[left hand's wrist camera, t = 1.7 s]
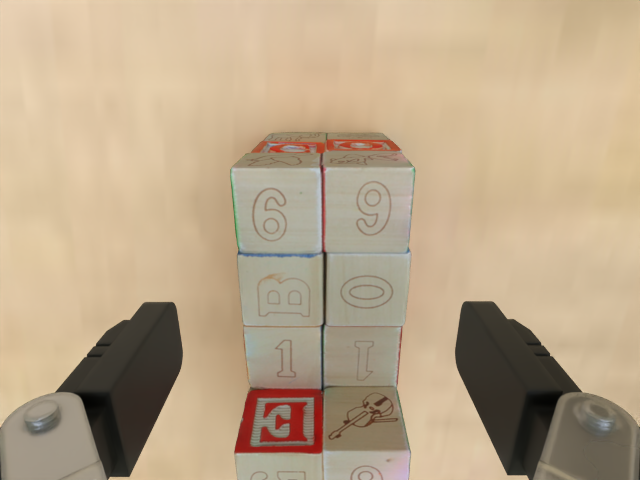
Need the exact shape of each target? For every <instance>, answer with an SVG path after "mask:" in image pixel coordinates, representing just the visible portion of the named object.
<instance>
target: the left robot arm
mask: <svg viewBox="0 0 640 480" xmlns="http://www.w3.org/2000/svg"><path fill="white" fill-rule="evenodd" d="M182 358H183V350H182V342H181V336H180V329H179V322H178V315H177V309H176V306H175V304H174V303H173V302H145V303H143V304H142V305H141V307H140V308H139V309H138V311H137V312H136V313H135V314H134V316H133V317H132V318H131V319H130V320H123V321H122V322H120V323H119V324H117V325H115V326H114V327H112V328H111V329H109V330H108V331H107V332H106V333H105V334H104V335H103V336H102V337H101V339H100V340H99V341H98V342H97V343H96V346H94V347H93V348H92V349H91V351H90V352H89V353H88V354H87V357H85V358H84V359H83V360H82V361H81V362H80V364H79V365H78V366H77V367H76V368H75V370H74V371H73V372H72V373H71V374H70V375H69V377H68V378H67V379H66V380H65V381H64V383H63V384H62V385H61V386H60V387H59V388H58V390H57V391H56V392H55V393H51V394H47V395H44V396H41V397H38V398H36V399H33V400H31V401H29V402H27V403H25V404H24V405H22V406H21V407H19V408H18V409H16V410H15V411H14V412H13V413H12V414H10V415H9V416H8V418H7V419H6V420H5V421H4V423H3V424H2V426H1V427H0V480H108V479H109V477H130V475H131V472H132V470H133V468H134V466H135V464H136V462H137V460H138V458H139V456H140V454H141V452H142V449H143V447H144V445H145V443H146V441H147V439H148V437H149V435H150V433H151V431H152V429H153V426H154V424H155V422H156V420H157V418H158V416H159V414H160V412H161V410H162V408H163V406H164V403H165V401H166V399H167V397H168V395H169V393H170V391H171V389H172V387H173V385H174V383H175V380H176V378H177V376H178V374H179V372H180V369H181V365H182ZM455 358H456V365H457V368H458V371H459V374H460V376H461V378H462V380H463V382H464V384H465V386H466V388H467V390H468V393H469V395H470V397H471V399H472V401H473V403H474V405H475V407H476V410H477V412H478V414H479V416H480V418H481V420H482V422H483V424H484V426H485V429H486V431H487V433H488V435H489V437H490V439H491V441H492V443H493V446H494V448H495V450H496V452H497V454H498V456H499V458H500V460H501V462H502V465H503V467H504V469H505V471H506V473H507V475H527V476H528V478H529V480H640V427H639V426H638V424H637V423H636V421H635V420H634V419H633V418H632V416H631V415H629V414H628V413H627V412H626V411H625V410H624V409H622V408H621V407H619V406H618V405H616V404H615V403H613V402H611V401H609V400H607V399H604V398H602V397H599V396H596V395H593V394H589V393H583V392H582V391H581V390H580V389H579V388H578V387H577V385H576V384H575V383H574V382H573V381H572V379H571V378H570V377H569V376H568V375H567V373H566V372H565V371H564V370H563V369H562V367H561V366H560V365H559V364H558V363H557V361H556V360H555V359H554V358H553V357H552V356H550V353H549V352H548V351H547V349H546V348H545V347H544V346H541V342H540V341H539V340H538V339H537V337H536V336H535V335H534V334H533V333H532V331H531V330H529V329H528V328H526V327H525V326H523V325H522V324H520V323H519V322H517V321H516V320H514V319H507V318H506V317H505V316H504V314H503V313H502V312H501V310H500V309H499V308H498V307H497V305H496V304H495V303H494V302H492V301H466V302H464V303H463V305H462V308H461V314H460V321H459V327H458V334H457V341H456V348H455Z"/></svg>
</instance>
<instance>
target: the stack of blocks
mask: <svg viewBox="0 0 640 480" xmlns="http://www.w3.org/2000/svg"><path fill="white" fill-rule="evenodd" d="M230 178H231V186H232V197H233V207H234V218H235V230H236V238H237V245H238V249H239V251H238V254H237V266H238V276H239V287H240V297H241V308H242V319H243V324H244V326H243V337H244V347H245V356H246V365H247V374H248V381H249V384H250V386H251V387H250V390H249V391H248V395H247V399H246V402H245V408H244V412H243V416H242V420H241V424H240V428H239V433H238V438H237V442H236V446H235V451H234V455H235V464H236V472H237V480H409V472H410V458H411V451H410V446H409V442H408V438H407V433H406V428H405V423H404V419H403V414H402V409H401V405H400V400H399V396H398V391H397V384H398V372H399V360H400V349H401V338H402V326H403V325H404V324H405V318H406V309H407V299H408V289H409V277H410V264H411V251H410V249H409V247H408V246H409V238H410V227H411V214H412V204H413V192H414V180H415V168H414V166H413V165H412V164H411V163H410V162H409V161H408V160H407V159H406V158H405V157H404V155H403V154H402V150H401V149H400V148H399V147H398V146H397V145H396V144H395V143H394V142H393V141H390V139H388V138H387V137H386V136H385V135H384V134H382V133H307V132H299V133H272V134H269V135H268V136H267V137H266V138H265V140H264V141H262V142H260V143H259V144H258V145H257V147H256V148H255V149H253V151H252V152H251V153H248V154H245V155H244V156H243V157H242V158H241V159H240V160H239V161H238V162H237V163H236V164H235V165H234V166H233V167H232V168H231V175H230Z"/></svg>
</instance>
